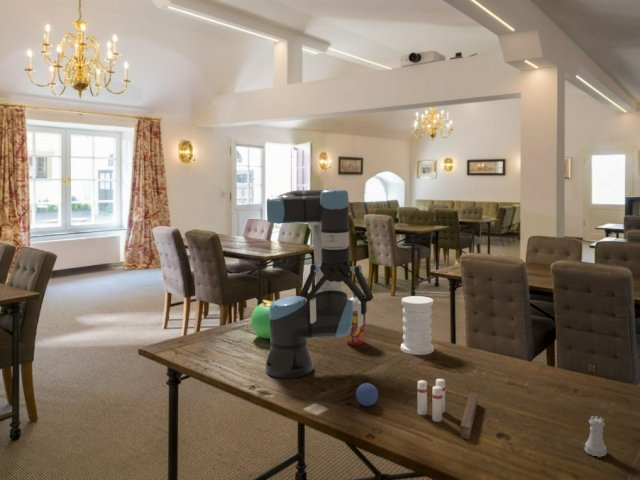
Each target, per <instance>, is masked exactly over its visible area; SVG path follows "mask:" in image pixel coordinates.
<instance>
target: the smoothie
mask: <svg viewBox="0 0 640 480" xmlns="http://www.w3.org/2000/svg"><path fill="white" fill-rule="evenodd" d="M348 299H350V300H352V301H353V315H352V325H351V331H350V333H349V335H347V336H345V340H346V343H347V344H348V345H351V346H360V345H362V344H363V343H364V341H365V337H366V332H365V331H366V316H367V315H366V314H367V313H366V314H365V315H364V314H363V325H362V326H361V327H358V303H359V302H360V301H359V299H358V298H357V297H356V296H355V294H354V293H353V296H351V297H349V298H348Z"/></svg>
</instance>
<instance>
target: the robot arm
mask: <svg viewBox="0 0 640 480" xmlns="http://www.w3.org/2000/svg"><path fill="white" fill-rule="evenodd" d="M349 205H350V201H349V191H347V190H346V189H329V188H326V189H314V190H313V189H310V190H309V189H307V190H306V189H303V190H301V189H299V190H292V191H287V192H285V193H281V194H280V195H278V196H271V197H270V196H269V197H267V200H266V217H267V222H268V223H269V224H277V225H278V224H279V225H281V224H295V223H297V224H307V226H308V229H309V230H310V231H312V241H313V242H312V243H313V259H314V263H313V264H311V265H310V268H309V269H310V270H309V274H308V276H307V278H306V280H305V283H304V284H303V287H302V289H301V292H300V293H299V296H298V295H291V296H286V297H281V298H278V299H277V300H273V301H274V302H273V303H272V304H271V305H270V316H269V319H270V339H269V341H270V342H269V343H270V348H269V352H268V356H267V359H266V363H265V372H266V374H267V375H269V376H271V377H274V378H279V379H296V378H301V377H304V376H307V375H309V374H310V373H312V371H314V363H313V362H314V361H313V359H312V356H311V354H310V351H309V348H308V343H307V340H308V339H316V338H318V339H319V338H321V339H322V338H336V339H337V338H339V337H341V338H342V337H346V336H347V335H349V333H350V331H351V325H352V315H353V301H352V300H350V299H349V298H348V294H347V292H345V291H344V290H343V284H342V282H343V283H344V284H345V285H346V286H347V288H348V289H349V290H350V291H351V292H352V294H353V295H354V294H355V297H357V298H358V299H359V301H360V302H359V303H358V327H361V326H362V325H363V314H364V315H365V314H367V312H368V310H367V309H368V305H367V303H368V302H371V301H372V300H373V299H374V294H373V293H372V291H371V288H370V287H369V284H368V283H367V280H366V279H365V277H364V274H363V270H362V266H361V265H360V264H358V265H355V266H351V263H350V248H349V246H350V230H349V229H350V228H349V227H350V226H349V225H350V223H349V219H350V218H349V217H350V216H349V213H350V212H349V207H350V206H349ZM351 272H352V273H353V275H354V276H355V278H356V281H357V282H358V284H359V286H360V288H361V289H360V288H359V287H358V285H357V284H356V283H355V282H354V281H353V279H352V277H351V276H350V273H351ZM314 280H315V285H314V287H313V288H312V289H311V290H310V288H311V286H312V283H313V281H314ZM309 290H310V291H309Z"/></svg>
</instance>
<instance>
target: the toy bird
mask: <svg viewBox="0 0 640 480" xmlns="http://www.w3.org/2000/svg"><path fill="white" fill-rule="evenodd" d="M274 301H275V300H268V299H267V300H266V299H262V303H259V304H258V305H257V306H256V307H255V308H254V309H253V310H252V314H251V317H250V325H251V328H252V330H253V331H254V332H253V333H255V334H256V335H257V336H258V337H260V338H263V339H268V340H270V319H269V316H270V305H271V304H272V303H273V302H274Z"/></svg>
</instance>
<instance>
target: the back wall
mask: <svg viewBox="0 0 640 480" xmlns="http://www.w3.org/2000/svg"><path fill="white" fill-rule="evenodd" d="M477 406H478V393H476V392H475V393H474V392H469V394H468V398H467V401H466V404H465V408H464V413H463V416H462V419H461V424H460V439H466V440H470V437H471V433H472V428H473V424H474V420H475V416H476V410H477Z"/></svg>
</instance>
